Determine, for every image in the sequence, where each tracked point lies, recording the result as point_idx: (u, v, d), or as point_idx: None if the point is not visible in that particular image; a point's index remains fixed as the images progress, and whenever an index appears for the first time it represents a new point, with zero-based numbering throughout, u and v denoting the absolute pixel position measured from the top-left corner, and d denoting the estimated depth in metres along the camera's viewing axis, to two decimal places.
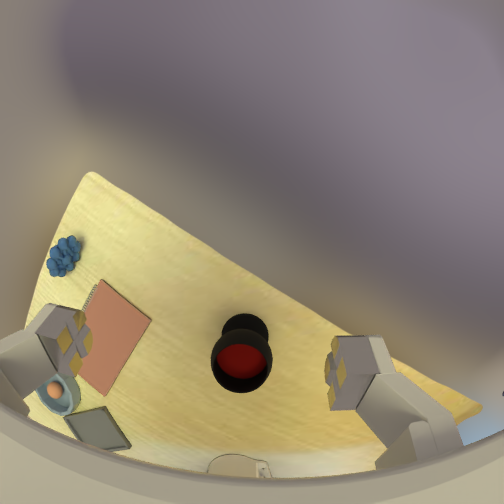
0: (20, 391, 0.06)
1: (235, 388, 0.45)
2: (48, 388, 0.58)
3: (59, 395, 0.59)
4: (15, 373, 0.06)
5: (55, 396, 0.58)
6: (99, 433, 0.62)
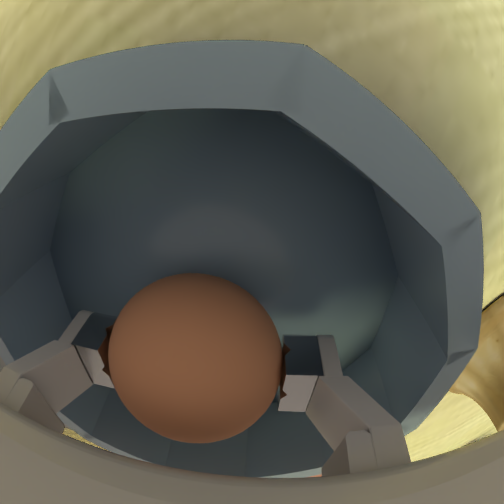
0: (53, 406, 0.06)
1: None
2: (236, 422, 0.06)
3: None
4: (48, 388, 0.06)
5: None
6: None
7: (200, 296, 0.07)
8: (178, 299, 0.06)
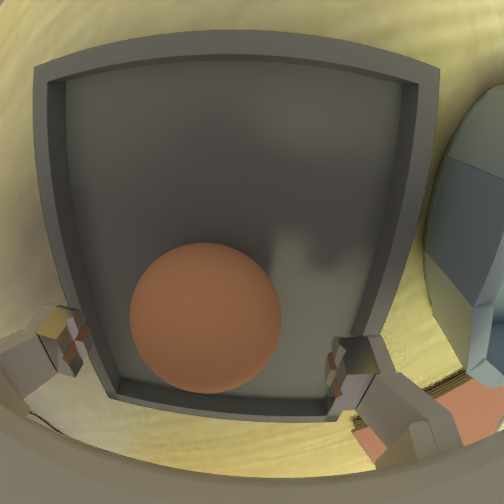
0: (20, 391, 0.06)
1: None
2: (242, 366, 0.08)
3: None
4: (15, 373, 0.06)
5: (153, 370, 0.08)
6: None
7: (213, 256, 0.08)
8: (195, 258, 0.08)
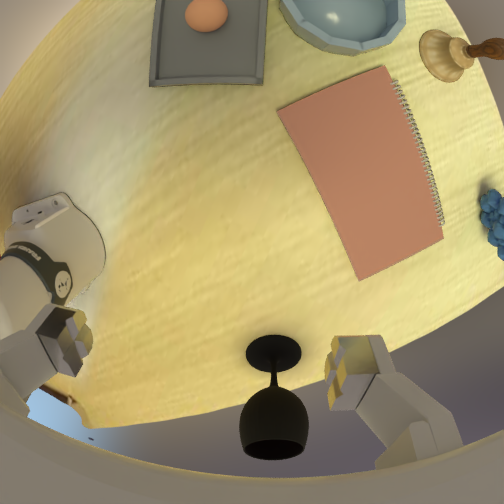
0: (20, 391, 0.06)
1: (249, 428, 0.35)
2: (216, 6, 0.23)
3: (189, 23, 0.25)
4: (15, 373, 0.06)
5: (190, 15, 0.23)
6: None
7: None
8: None
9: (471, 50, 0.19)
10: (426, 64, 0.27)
